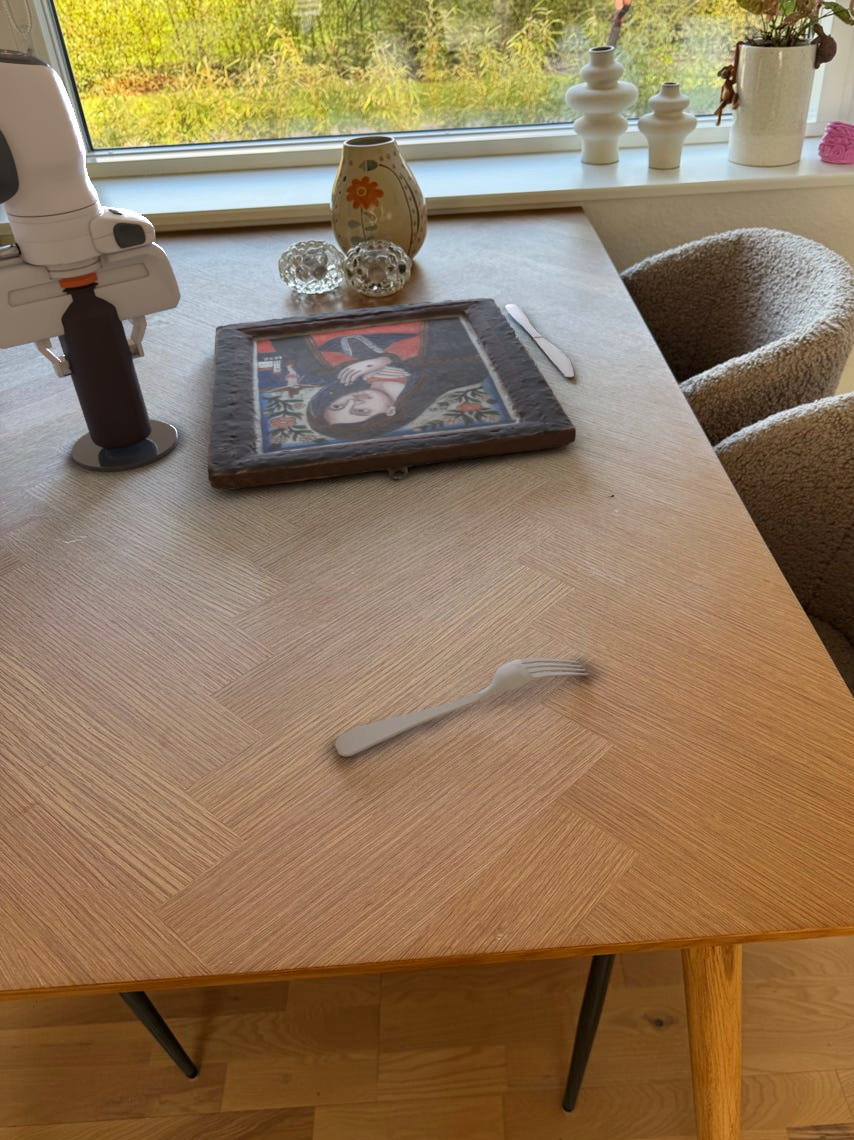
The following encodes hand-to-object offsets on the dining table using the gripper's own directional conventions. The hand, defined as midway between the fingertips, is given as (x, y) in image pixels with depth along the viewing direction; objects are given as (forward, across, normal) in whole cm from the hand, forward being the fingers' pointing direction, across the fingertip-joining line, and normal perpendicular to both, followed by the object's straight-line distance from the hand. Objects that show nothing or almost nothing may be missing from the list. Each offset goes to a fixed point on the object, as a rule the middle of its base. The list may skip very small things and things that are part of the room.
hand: (101, 365), depth 105 cm
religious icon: (+10, +30, -6) cm, 32 cm away
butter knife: (+10, +56, -5) cm, 57 cm away
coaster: (+10, 0, 0) cm, 10 cm away
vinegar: (+9, 0, 0) cm, 9 cm away
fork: (+10, +8, -61) cm, 62 cm away
